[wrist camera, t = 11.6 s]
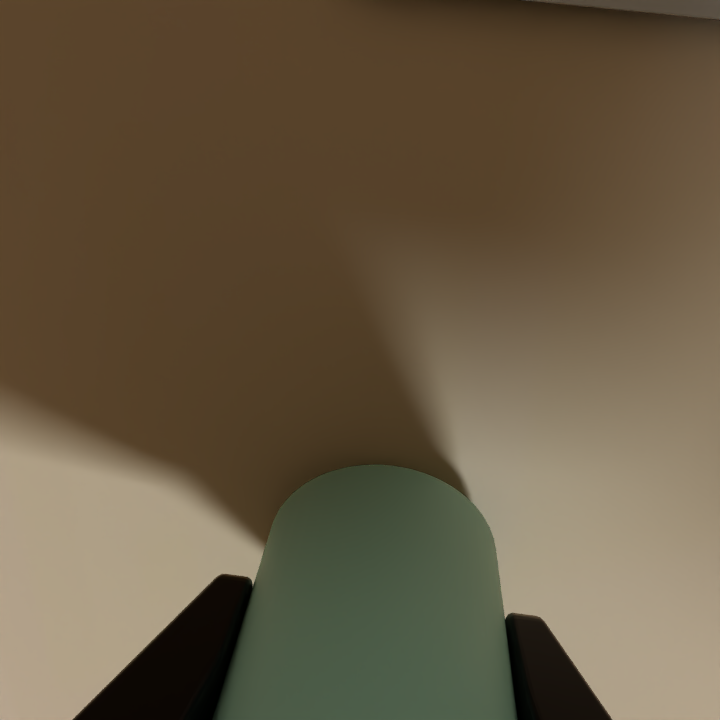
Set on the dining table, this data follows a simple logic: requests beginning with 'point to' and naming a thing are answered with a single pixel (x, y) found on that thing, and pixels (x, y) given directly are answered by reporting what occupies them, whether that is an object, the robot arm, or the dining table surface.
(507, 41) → the dining table surface
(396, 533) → the peg
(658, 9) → the card
